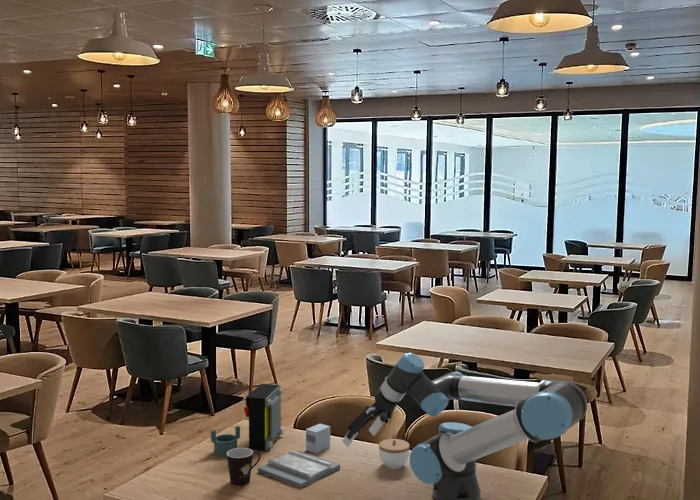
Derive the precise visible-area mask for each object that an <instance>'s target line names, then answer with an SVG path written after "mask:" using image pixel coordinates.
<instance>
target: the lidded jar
mask: <svg viewBox="0 0 700 500" xmlns="http://www.w3.org/2000/svg"><path fill="white" fill-rule="evenodd" d="M378 449H379V450H378V451H379V453H378V454H379V458H380V460H381V462H382V463H383V464H384V465H385V467H386V468H387V469H391V470H399V469H402V468H403V466H404V465H406V463H407V461H408V459H409V458H410V443H409V442H408V441H406V440H403V439H400V438H399V439H397V438H389V439H388V438H387V439H383V440H381V441H380V442H379V443H378Z"/></svg>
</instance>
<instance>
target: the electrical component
mask: <svg viewBox="0 0 700 500" xmlns="http://www.w3.org/2000/svg"><path fill="white" fill-rule="evenodd" d="M283 394H284V389H283V388H281V385H280V384H270V383H260V384H259V385H258V386H257V387H255V388H254V389H253V390H252V391H251V392H250V393H249V394H248V395H246V397H245V405H246V407H243V409H244V412H245V416H246V418H248V449H251V450H252V451H256V450H257V452H266V451H268V449H272V448H273V445H274V443H273V442H275V441H276V440H277V439H278V438H279V437H280V436H282V435H283V434H284V429H283V428H282V419H281V418H282V417H281V416H282V410H281V409H282V407H281V406H282V405H281V403H282V400H281V397H282V396H281V395H283Z"/></svg>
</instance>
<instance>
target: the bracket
mask: <svg viewBox="0 0 700 500" xmlns="http://www.w3.org/2000/svg"><path fill="white" fill-rule="evenodd" d="M234 428H235V434H231V433H225V434H220V435H219V434H218V435H217V431H216V429H210V442H211V443H213V447H214V448H213V449H214V451H213V452H214V454H215V455H217V456H218V457H227V452H228V451H229V450H231V449H235V448H238V439H240V438H241V427H240V425H237V426H235V427H234Z"/></svg>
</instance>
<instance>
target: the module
mask: <svg viewBox="0 0 700 500" xmlns="http://www.w3.org/2000/svg"><path fill="white" fill-rule="evenodd" d="M328 448H331V425H327V424H322V423H318V424H315V425H313V426H311V427H308V428H306V429H305V450H306V451H307V450H308V451H307V452H310V451H311V453H313V452H314V453H313V454H318V453H320V452H323V451H324V450H327V449H328Z"/></svg>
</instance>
